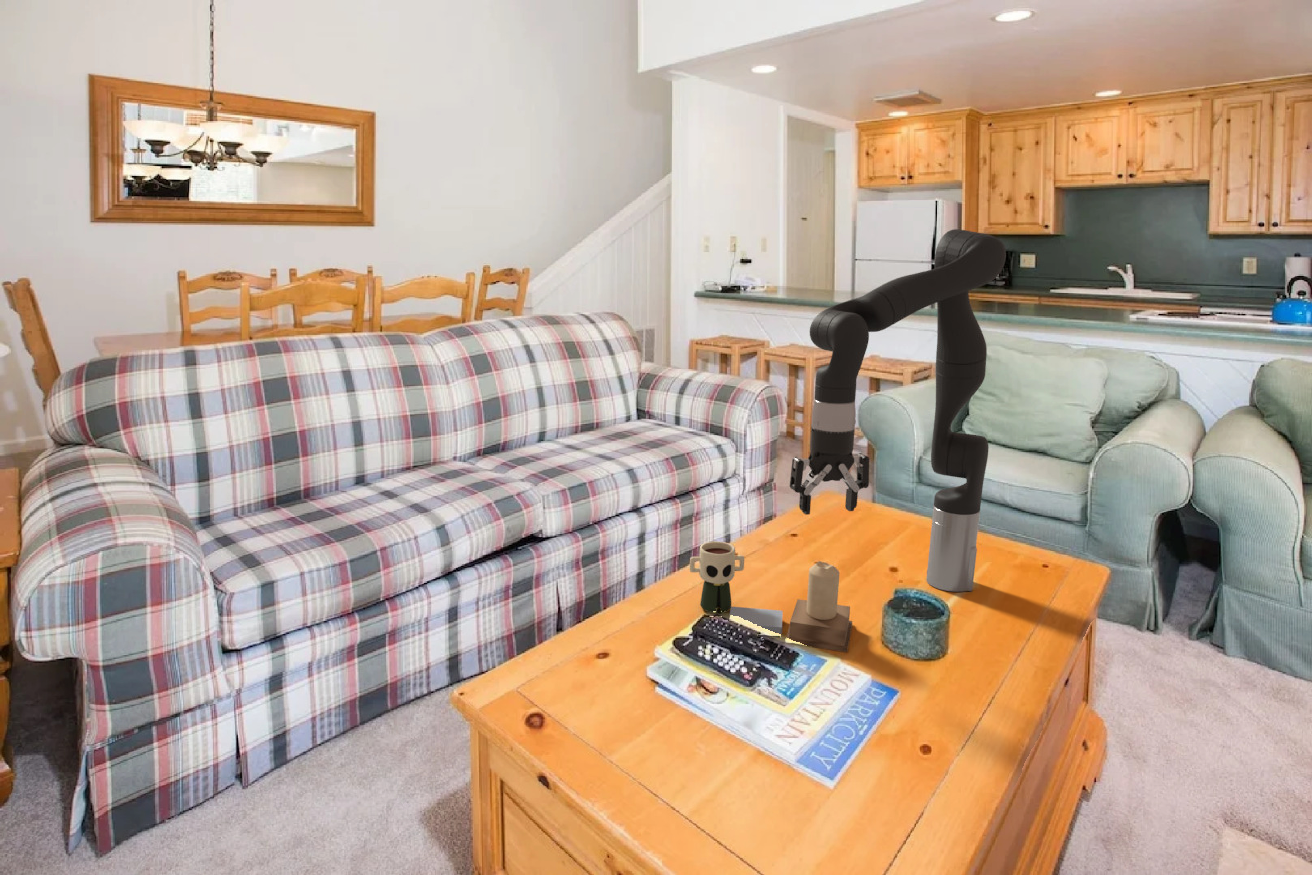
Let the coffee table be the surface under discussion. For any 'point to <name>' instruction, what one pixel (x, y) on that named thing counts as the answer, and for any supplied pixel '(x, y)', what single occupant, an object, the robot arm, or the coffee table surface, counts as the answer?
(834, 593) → the candle
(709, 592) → the character mug
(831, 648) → the stand
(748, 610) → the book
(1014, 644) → the coffee table surface
